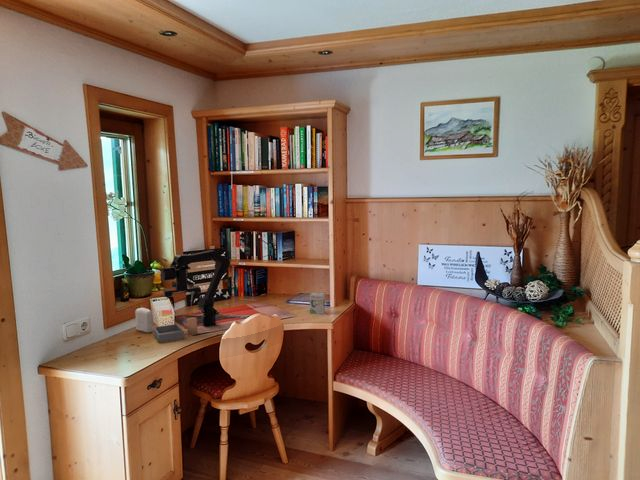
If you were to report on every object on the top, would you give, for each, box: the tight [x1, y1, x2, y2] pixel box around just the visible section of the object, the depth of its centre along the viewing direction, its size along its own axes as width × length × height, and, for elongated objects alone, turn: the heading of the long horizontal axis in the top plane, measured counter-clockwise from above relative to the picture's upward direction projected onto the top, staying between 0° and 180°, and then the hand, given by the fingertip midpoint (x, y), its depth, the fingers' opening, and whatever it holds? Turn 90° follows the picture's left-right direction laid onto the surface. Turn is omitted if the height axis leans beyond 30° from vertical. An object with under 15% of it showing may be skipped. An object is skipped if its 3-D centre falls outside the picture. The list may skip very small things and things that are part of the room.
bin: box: [153, 323, 185, 344], centre depth 239 cm, size 12×14×4 cm
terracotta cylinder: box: [186, 316, 198, 336], centre depth 244 cm, size 5×5×8 cm
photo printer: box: [134, 307, 154, 333], centre depth 249 cm, size 10×4×12 cm, turn 60°
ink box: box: [309, 292, 326, 315], centre depth 280 cm, size 9×5×12 cm, turn 73°
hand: (183, 307), depth 248 cm, fingers open, 9 cm apart
